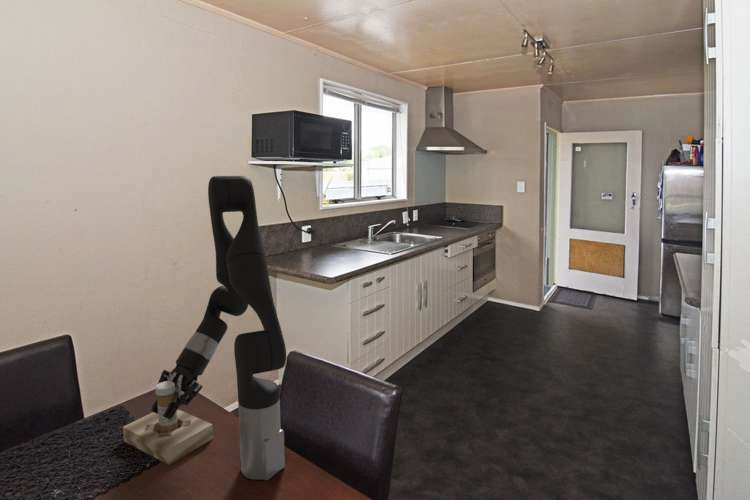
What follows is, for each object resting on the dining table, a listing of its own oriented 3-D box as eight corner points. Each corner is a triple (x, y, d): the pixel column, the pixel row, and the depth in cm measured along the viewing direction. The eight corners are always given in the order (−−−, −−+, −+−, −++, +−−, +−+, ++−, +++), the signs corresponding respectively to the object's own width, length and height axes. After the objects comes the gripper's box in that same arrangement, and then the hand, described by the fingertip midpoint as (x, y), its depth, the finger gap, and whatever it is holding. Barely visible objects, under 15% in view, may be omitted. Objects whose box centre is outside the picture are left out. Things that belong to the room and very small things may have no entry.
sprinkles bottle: (175, 426, 126) (171, 378, 123) (181, 434, 122) (177, 385, 120) (157, 432, 123) (152, 383, 120) (162, 440, 120) (158, 390, 117)
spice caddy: (213, 438, 124) (212, 424, 123) (168, 464, 113) (167, 449, 112) (169, 418, 133) (168, 405, 132) (124, 441, 122) (122, 426, 121)
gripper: (171, 341, 129) (132, 402, 121) (207, 353, 121) (168, 418, 113) (189, 353, 134) (153, 412, 126) (224, 365, 127) (188, 428, 119)
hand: (160, 414), depth 120 cm, fingers closed on sprinkles bottle, 4 cm apart
